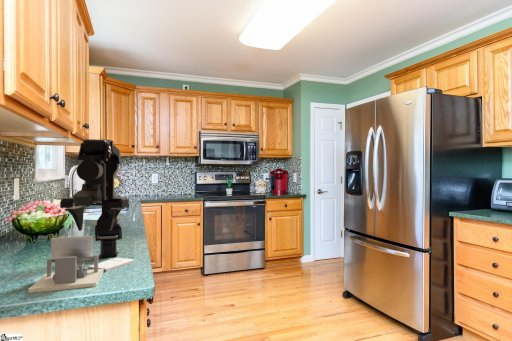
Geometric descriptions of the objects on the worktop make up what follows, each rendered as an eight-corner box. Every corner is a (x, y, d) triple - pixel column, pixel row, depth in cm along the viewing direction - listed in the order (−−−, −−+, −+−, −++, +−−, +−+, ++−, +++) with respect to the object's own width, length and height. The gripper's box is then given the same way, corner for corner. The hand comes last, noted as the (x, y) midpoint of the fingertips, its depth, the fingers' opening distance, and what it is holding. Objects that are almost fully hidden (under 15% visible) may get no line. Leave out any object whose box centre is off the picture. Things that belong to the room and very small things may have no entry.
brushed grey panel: (53, 261, 95) (51, 237, 93) (93, 258, 98) (92, 235, 97) (52, 263, 94) (50, 239, 92) (93, 260, 97) (92, 236, 96)
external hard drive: (87, 271, 104) (116, 261, 115) (106, 273, 101) (134, 263, 112) (87, 266, 104) (116, 257, 115) (106, 268, 101) (134, 258, 112)
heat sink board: (46, 276, 96) (46, 250, 96) (103, 271, 101) (103, 246, 101) (28, 293, 83) (28, 262, 83) (95, 286, 88) (95, 257, 88)
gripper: (47, 180, 89) (47, 236, 89) (113, 180, 89) (113, 236, 89) (71, 179, 100) (70, 228, 100) (129, 179, 100) (129, 228, 100)
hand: (95, 230), depth 97 cm, fingers open, 9 cm apart
